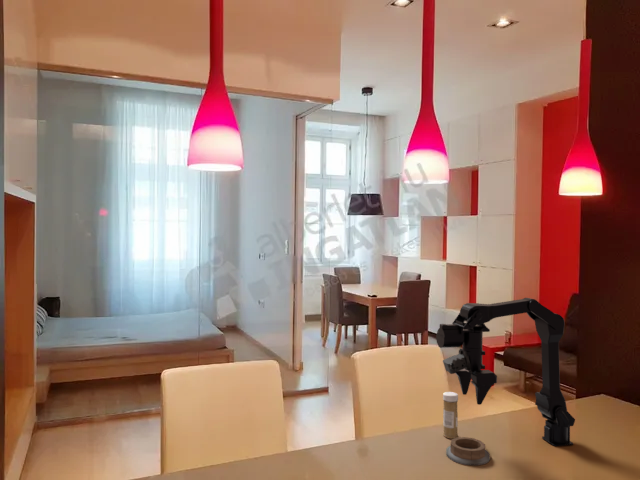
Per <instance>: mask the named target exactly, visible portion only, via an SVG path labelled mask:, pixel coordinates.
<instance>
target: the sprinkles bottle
mask: <svg viewBox="0 0 640 480" xmlns="http://www.w3.org/2000/svg"><path fill="white" fill-rule="evenodd" d="M442 400H443V416H442V417H443V422H442V424H443V432H442V433H443V436H444V437H445V438H447V439H451V440H452V439H455V438H458V436H459V435H458V434H459V433H458V426H459V425H458V423H459V422H458V421H459V420H458V418H459V417H458V415H459V414H458V401H459V394H458V393H457V392H453V391H445V392H443V394H442Z"/></svg>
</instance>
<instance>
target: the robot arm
mask: <svg viewBox="0 0 640 480" xmlns="http://www.w3.org/2000/svg"><path fill="white" fill-rule="evenodd" d="M520 314H521V315H522V314H527V316H528V317H529V318H530V319H531V320H533V322H534V324H535V330H536V333H537V335H538V337H539V339H540V342H541V370H542V371H541V375H542V376H541V377H542V379H541V380H542V382H541V383H542V388H540V391H539V392H538V391H536V392H535V393H534V395H535V403H534V405H535V406H536V407H537V410H538V411H539V412H540V413H541V416H542V418H543V419H545V422H544V423H545V424H544V426H543V436H542V437H541V438H542V440H545V441H546V442H547V443H549V444H550V445H552V446H553V447H562V446H573V445H574V442H572V441H571V427H574V425H575V422H576V419H575V417H574V416H573V415H571V414H570V412H568V408H567V402H566V399H565V398H566V397H564V394H563V392H562V390H561V379H560V378H561V377H560V376H561V375H560V371H561V370H560V340H562V337H563V336H564V331H565V326H566V325H565V318H564V317H563V316H562V315H561V314H559V313H555V312H553V311H552V310H551V309H549V308H547V307H546V306H544V305H543V304H542V303H540V302H539V301H538V300H537V299H535V298H530V297H524V298H522V299H521V298H519V299H515V300H507V301H502V302H501V301H500V302H496V303H495V302H494V303H479V302H478V303H476V302H474V303H473V302H466V303H463V305H462V306H461V308H460V310H459V313H458V314H457V316H456V318H455V319H454V320H453V321H452V323H451V324H448V323H447V324H446V323H440V324H439V328H438V329H437V331H436V334H435V335H436V336H435V337H436V339H435V340H436V344H437V345H438V347H439V348H443V349H444V348H445V349H446V348H459V349H458V354H456V355H452V356H449V357H447V358H444V359H443V360H442V363H443V367H444V369H445V371H446V372H448V373H449V374H451V375H453V374H455V375H456V377H457V378H458V381H459V385H460V389H461V392H462V395H465V396H466V395H467V394H468V392H469V389H470V388H469V387H470V385H471V384H472V385H473V386H474V388H475V398H476V404H477V405H482V404H483V402H484V401H485V398H486V396H487V394H488V393H489V391H490V389H491V387H492V386H494V385H495V384H497V383H498V375H497V374H496V373H495V372H493V371H491V370H490V369H486V365H485V364H483V356H486V351H485V350H483V341H484V340H483V337H484V335H483V334H484V333H490V331H491V330H490V328H488V327H487V326H486V323H489V322H491V321H492V320H493V319H497V318H502V317H509V316H515V315H520ZM460 347H462V348H460ZM470 383H471V384H470Z"/></svg>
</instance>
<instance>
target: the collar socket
mask: <svg viewBox="0 0 640 480" xmlns="http://www.w3.org/2000/svg"><path fill="white" fill-rule="evenodd" d="M445 453H446V454H445V455H446V457H447V458H448V459H449V460H451V461H453V462H455V463H456V464H461V465H465V466H482V465H485V464H488V463H489V462H490V461H491V454H490V452H489V451H488V450H487V449H486V444H485V443H484V442H483V441H482V440H479V439H476V438H475V437H468V436H462V437H461V436H460V437H457V438H453V439H452V438H451V440H450V445H449V446H448V447H447V448H446V451H445Z"/></svg>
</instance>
